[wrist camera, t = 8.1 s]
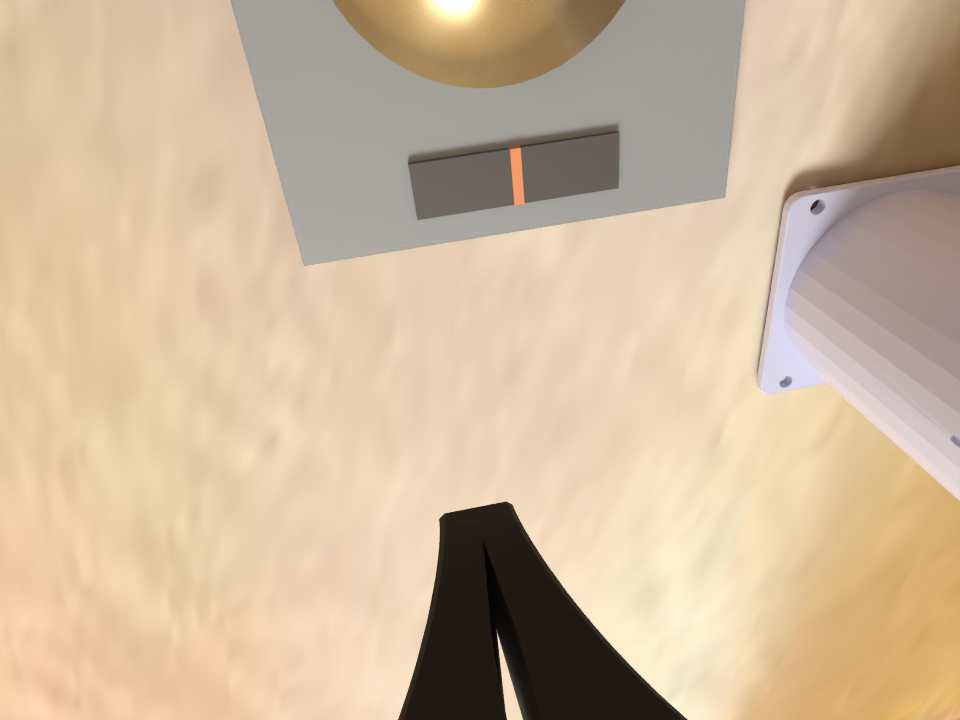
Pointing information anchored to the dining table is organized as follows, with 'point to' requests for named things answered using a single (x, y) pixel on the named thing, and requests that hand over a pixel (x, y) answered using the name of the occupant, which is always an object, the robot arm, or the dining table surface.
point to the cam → (479, 35)
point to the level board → (490, 128)
